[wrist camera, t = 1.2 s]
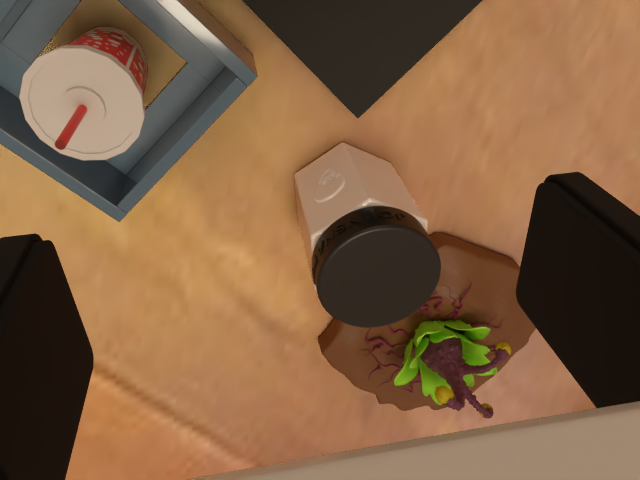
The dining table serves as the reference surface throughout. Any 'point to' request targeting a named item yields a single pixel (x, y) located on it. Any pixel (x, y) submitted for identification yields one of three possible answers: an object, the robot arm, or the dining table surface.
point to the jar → (364, 239)
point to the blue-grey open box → (160, 116)
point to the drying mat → (361, 39)
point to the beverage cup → (88, 94)
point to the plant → (439, 335)
